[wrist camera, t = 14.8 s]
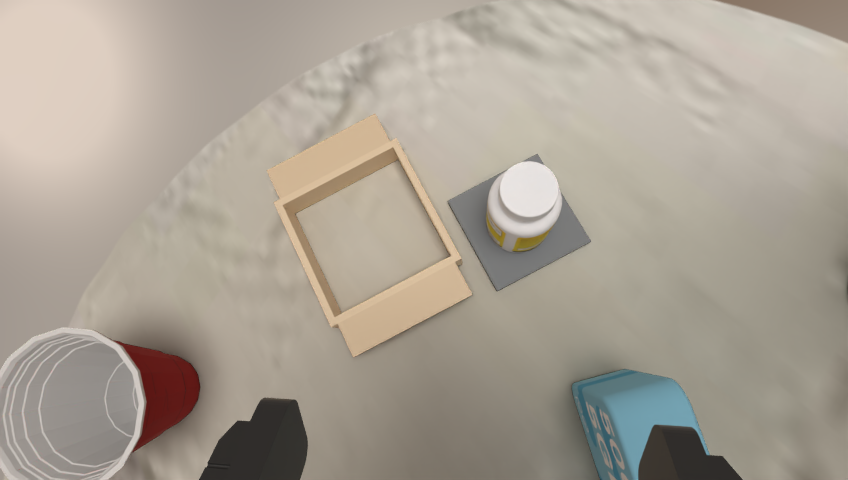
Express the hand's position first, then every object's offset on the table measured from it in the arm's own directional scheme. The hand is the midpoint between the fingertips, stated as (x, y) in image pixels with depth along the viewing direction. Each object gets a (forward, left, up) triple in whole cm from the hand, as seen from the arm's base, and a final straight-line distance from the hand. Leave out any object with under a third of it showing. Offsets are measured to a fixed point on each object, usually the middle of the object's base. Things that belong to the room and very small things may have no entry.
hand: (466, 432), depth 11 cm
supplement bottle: (-9, -9, -30) cm, 33 cm away
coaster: (-9, -9, -31) cm, 33 cm away
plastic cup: (+25, -10, -31) cm, 41 cm away
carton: (+3, -14, -31) cm, 34 cm away
